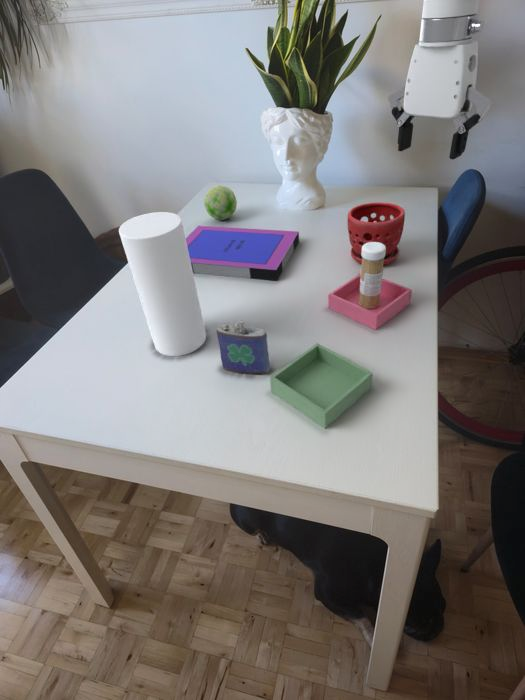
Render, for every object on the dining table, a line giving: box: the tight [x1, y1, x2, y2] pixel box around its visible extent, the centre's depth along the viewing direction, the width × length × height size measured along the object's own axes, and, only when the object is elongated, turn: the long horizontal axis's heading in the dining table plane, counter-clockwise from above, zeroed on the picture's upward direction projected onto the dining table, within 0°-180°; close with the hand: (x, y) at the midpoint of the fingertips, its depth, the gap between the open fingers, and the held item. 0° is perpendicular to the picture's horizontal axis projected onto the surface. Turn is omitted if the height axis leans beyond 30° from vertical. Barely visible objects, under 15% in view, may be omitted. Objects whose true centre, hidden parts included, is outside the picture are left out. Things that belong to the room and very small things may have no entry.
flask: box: [216, 319, 271, 376], centre depth 78 cm, size 9×3×11 cm, turn 74°
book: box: [185, 225, 300, 282], centre depth 115 cm, size 21×3×30 cm
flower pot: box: [347, 201, 406, 266], centre depth 106 cm, size 13×13×12 cm
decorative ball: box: [203, 185, 238, 221], centre depth 133 cm, size 10×10×10 cm
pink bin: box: [327, 273, 413, 331], centre depth 92 cm, size 12×12×4 cm
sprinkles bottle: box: [359, 242, 386, 309], centre depth 89 cm, size 5×5×13 cm
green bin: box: [269, 342, 374, 429], centre depth 74 cm, size 12×12×4 cm
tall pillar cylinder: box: [118, 211, 207, 357], centre depth 82 cm, size 11×11×25 cm
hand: (428, 153), depth 76 cm, fingers open, 9 cm apart
